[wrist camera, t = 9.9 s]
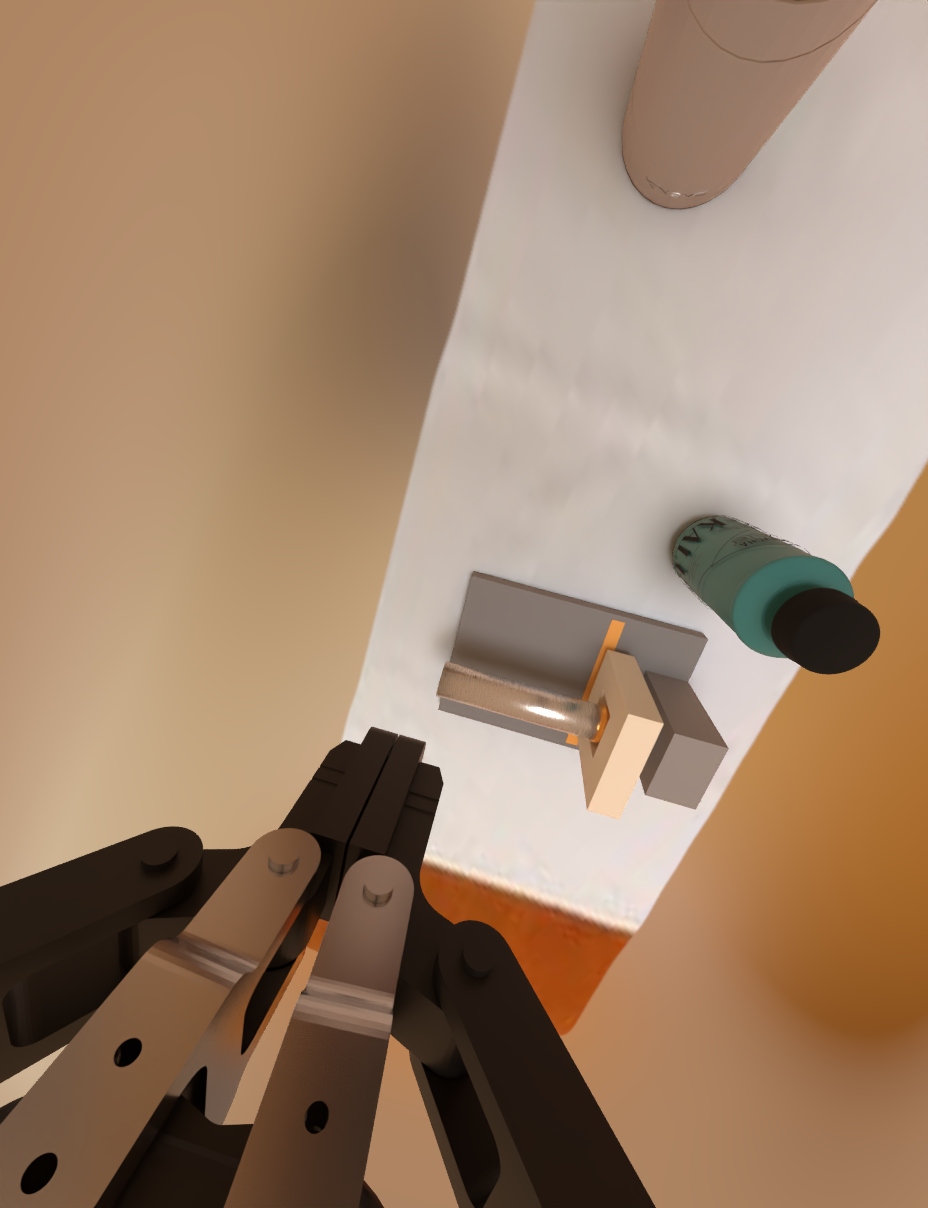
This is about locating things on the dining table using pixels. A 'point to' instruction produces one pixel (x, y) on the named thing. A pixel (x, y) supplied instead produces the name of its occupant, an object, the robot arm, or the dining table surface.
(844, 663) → the beverage bottle
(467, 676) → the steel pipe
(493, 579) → the mount board
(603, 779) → the beige rectangular block
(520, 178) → the dining table surface
